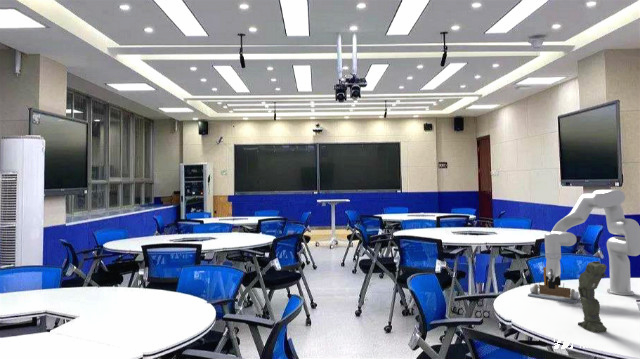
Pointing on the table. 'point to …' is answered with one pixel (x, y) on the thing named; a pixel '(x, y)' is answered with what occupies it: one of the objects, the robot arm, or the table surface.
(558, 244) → the robot arm
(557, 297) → the pipe run
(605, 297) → the table surface
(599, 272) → the mechanical leg
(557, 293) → the wood plank
